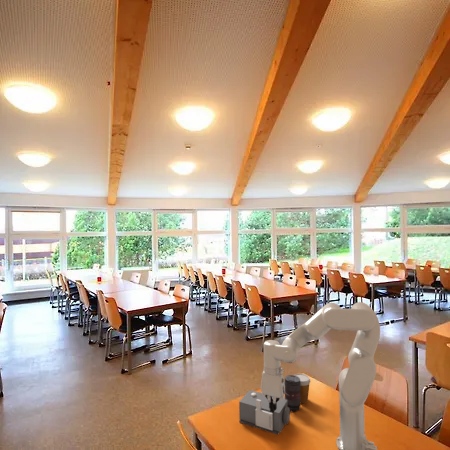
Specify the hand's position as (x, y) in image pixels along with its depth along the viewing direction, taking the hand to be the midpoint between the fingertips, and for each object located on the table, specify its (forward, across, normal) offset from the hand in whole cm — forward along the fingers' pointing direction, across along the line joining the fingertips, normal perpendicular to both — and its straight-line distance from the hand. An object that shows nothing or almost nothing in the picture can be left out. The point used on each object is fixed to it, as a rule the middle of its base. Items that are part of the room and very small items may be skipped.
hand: (272, 410), depth 137 cm
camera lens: (+10, -2, -23) cm, 25 cm away
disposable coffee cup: (+10, -4, -32) cm, 34 cm away
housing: (+10, +7, -7) cm, 14 cm away
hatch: (+9, +4, 0) cm, 10 cm away
